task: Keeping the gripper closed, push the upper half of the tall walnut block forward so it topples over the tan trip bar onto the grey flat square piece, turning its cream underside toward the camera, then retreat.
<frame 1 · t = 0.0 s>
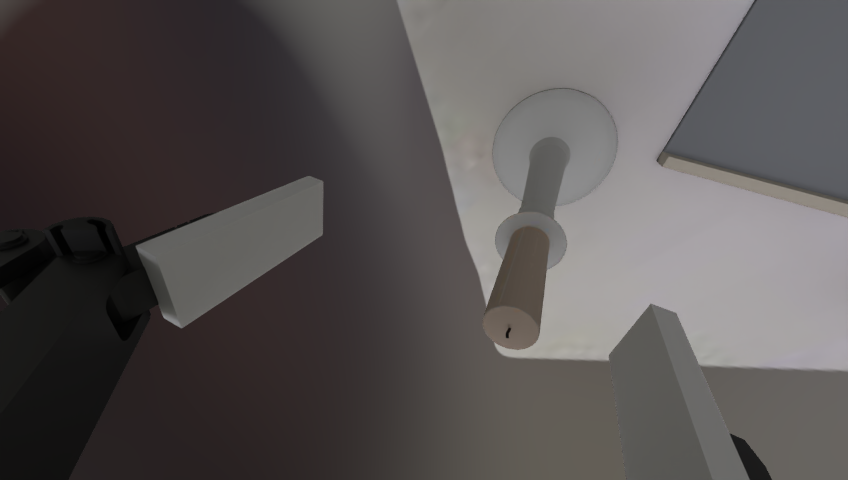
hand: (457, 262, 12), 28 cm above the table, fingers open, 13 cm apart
candlestick: (550, 151, 35), on the table
grey flat square piece: (820, 95, 25), on the table
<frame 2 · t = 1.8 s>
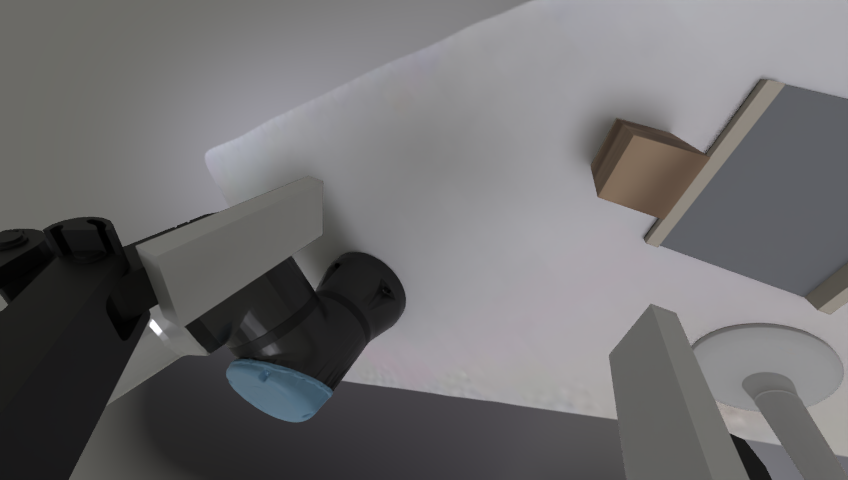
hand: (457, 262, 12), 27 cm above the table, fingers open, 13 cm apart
candlestick: (754, 365, 36), on the table
grey flat square piece: (789, 199, 28), on the table
block: (628, 150, 31), on the table
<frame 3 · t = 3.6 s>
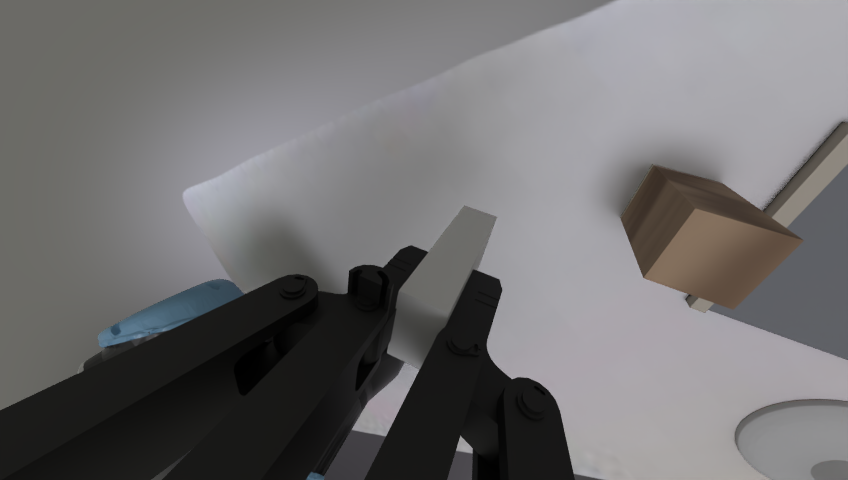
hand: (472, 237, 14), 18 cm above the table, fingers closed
candlestick: (822, 444, 30), on the table
block: (667, 201, 26), on the table
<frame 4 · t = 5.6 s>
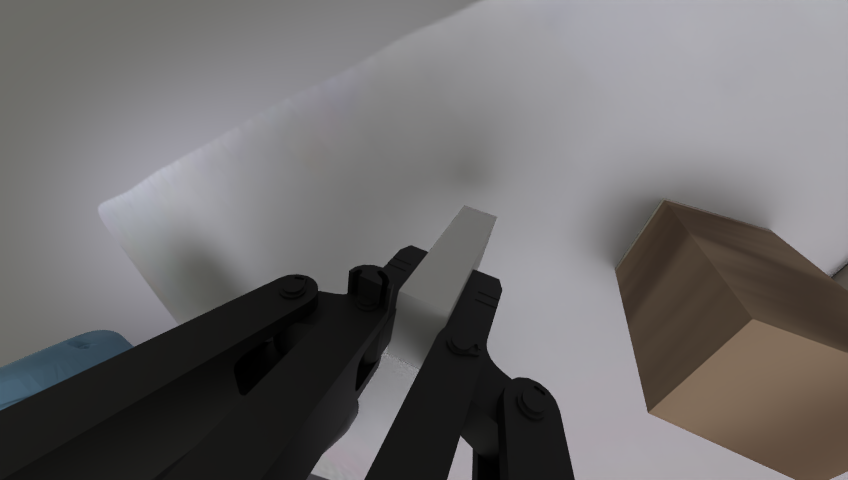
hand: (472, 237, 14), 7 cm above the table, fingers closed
block: (684, 252, 17), on the table
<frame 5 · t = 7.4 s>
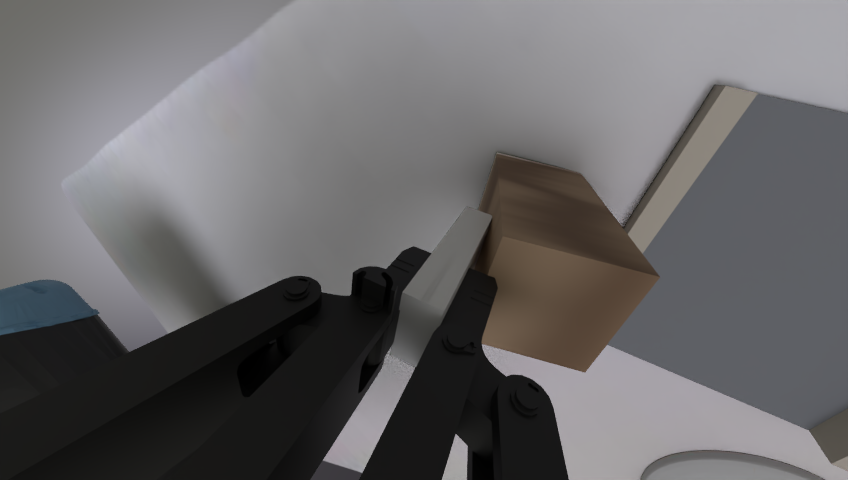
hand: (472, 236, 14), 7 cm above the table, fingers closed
grey flat square piece: (777, 284, 17), on the table
block: (522, 200, 19), on the table, tilted 13°, touching gripper
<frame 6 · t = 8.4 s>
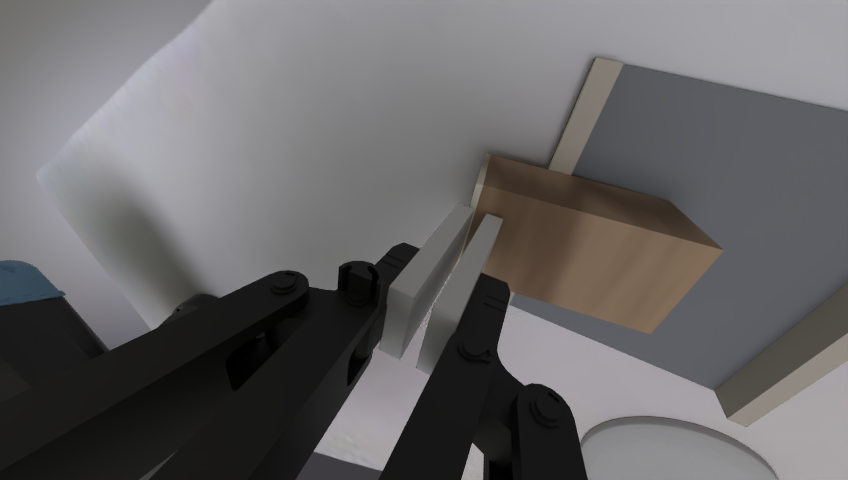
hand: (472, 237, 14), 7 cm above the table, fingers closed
candlestick: (667, 469, 25), on the table
grey flat square piece: (671, 248, 18), on the table
block: (468, 210, 17), point 4 cm above the table, tilted 99°, touching gripper, grey flat square piece
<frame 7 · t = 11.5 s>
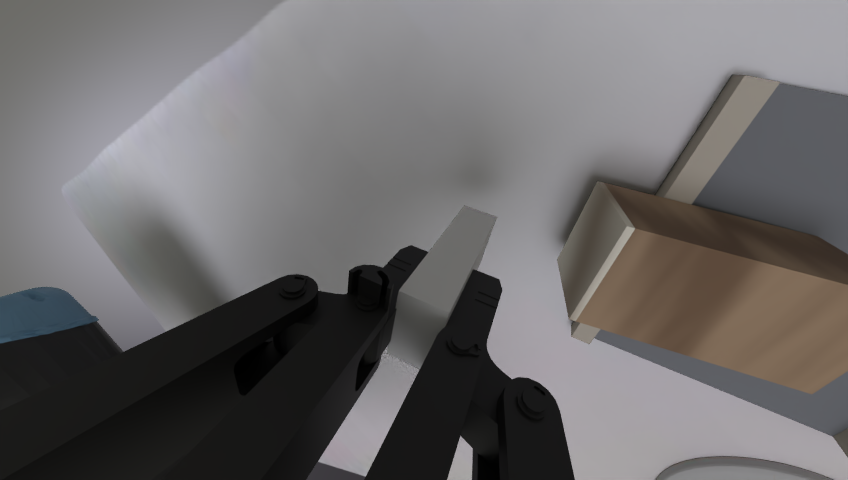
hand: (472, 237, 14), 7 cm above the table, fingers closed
grey flat square piece: (799, 284, 16), on the table
block: (583, 246, 15), point 4 cm above the table, tilted 98°, touching grey flat square piece
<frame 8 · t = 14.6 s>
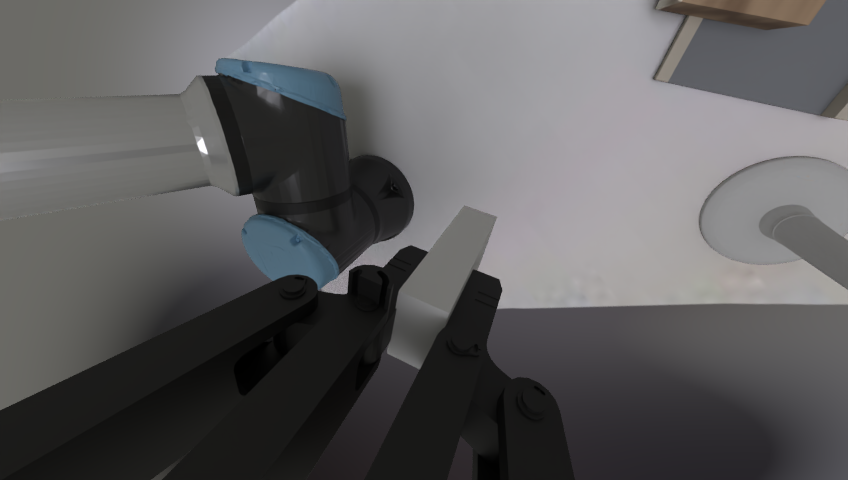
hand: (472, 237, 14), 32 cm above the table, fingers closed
candlestick: (771, 212, 35), on the table
grey flat square piece: (801, 1, 28), on the table
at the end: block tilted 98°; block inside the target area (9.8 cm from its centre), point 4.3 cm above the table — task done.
